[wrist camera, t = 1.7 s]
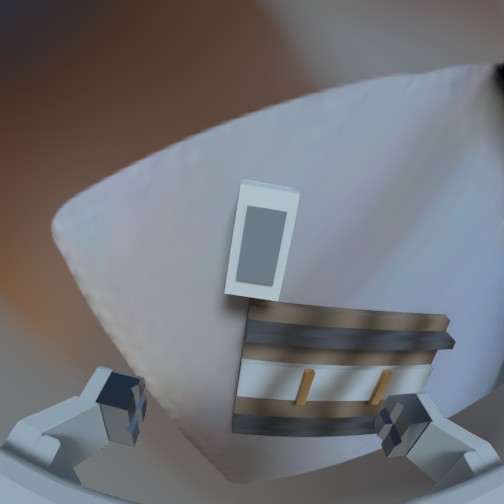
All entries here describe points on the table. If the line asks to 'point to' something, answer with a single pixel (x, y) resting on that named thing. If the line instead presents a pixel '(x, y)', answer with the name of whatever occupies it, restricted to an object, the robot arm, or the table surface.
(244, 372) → the rail board
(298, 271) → the table surface
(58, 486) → the robot arm
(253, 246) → the block
